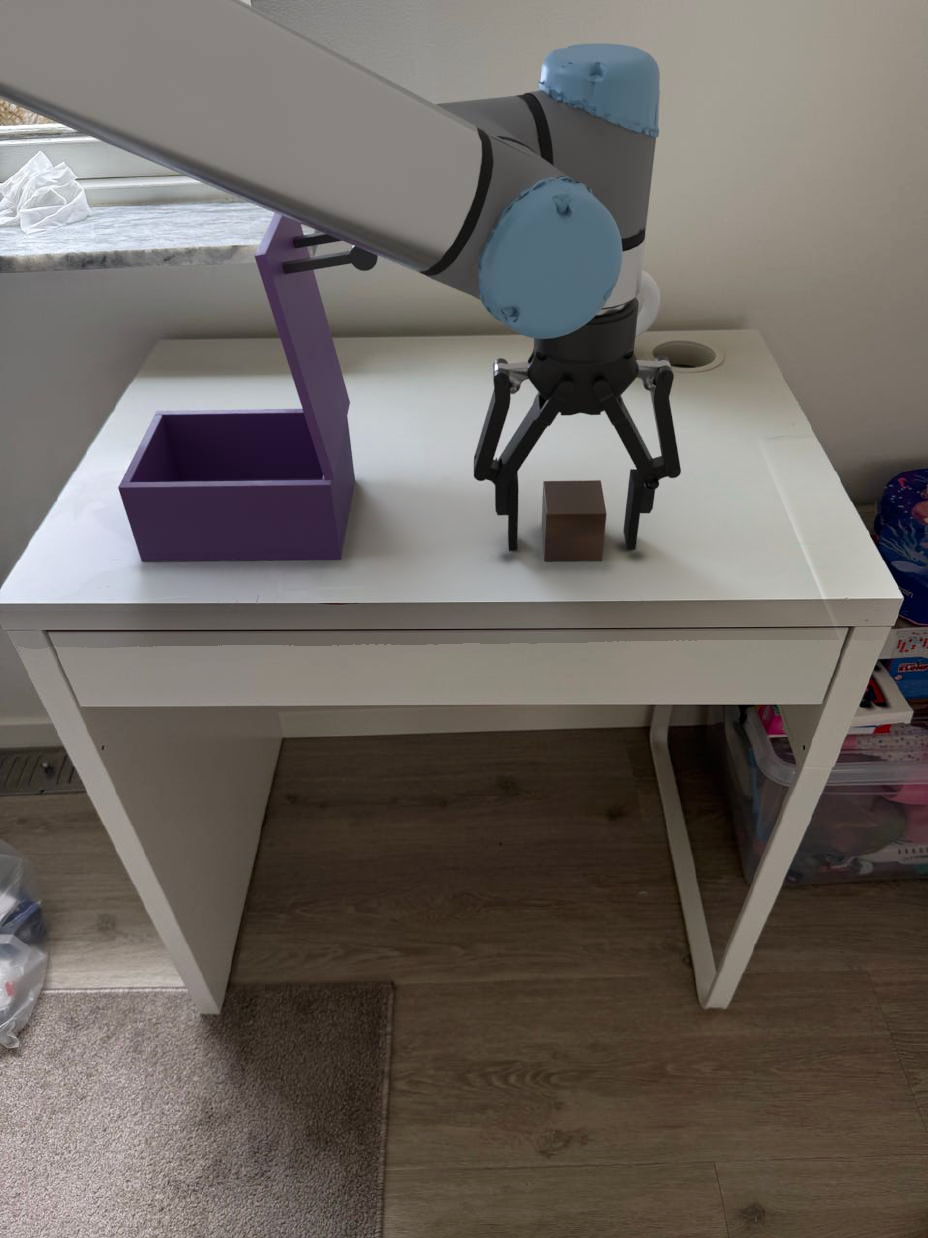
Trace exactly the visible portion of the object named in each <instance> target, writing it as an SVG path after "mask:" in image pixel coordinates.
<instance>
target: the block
mask: <svg viewBox="0 0 928 1238" xmlns="http://www.w3.org/2000/svg"><path fill="white" fill-rule="evenodd" d="M604 496H605V495H604V491H603V485H602V480H600V479H599V480H598V479H595V480H592V479H591V480H543V482H542V507H541V537H542V538H541V539H542V549H543V550H542V551H543V561H544V562H601V561H603V554H604V545H605V535H606V524H607V508H606V501H605V497H604Z"/></svg>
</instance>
